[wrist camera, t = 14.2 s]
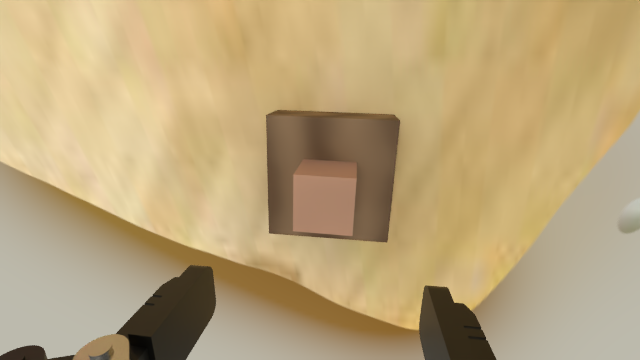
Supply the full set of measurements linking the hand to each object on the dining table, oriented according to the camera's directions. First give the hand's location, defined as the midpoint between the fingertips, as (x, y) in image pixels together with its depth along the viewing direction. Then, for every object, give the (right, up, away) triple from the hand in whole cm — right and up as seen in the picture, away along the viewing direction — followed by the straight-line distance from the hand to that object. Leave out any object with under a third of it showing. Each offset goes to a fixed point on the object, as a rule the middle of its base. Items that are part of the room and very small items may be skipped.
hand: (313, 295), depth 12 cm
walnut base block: (+2, +6, +23) cm, 24 cm away
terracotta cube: (+1, +4, +19) cm, 19 cm away
